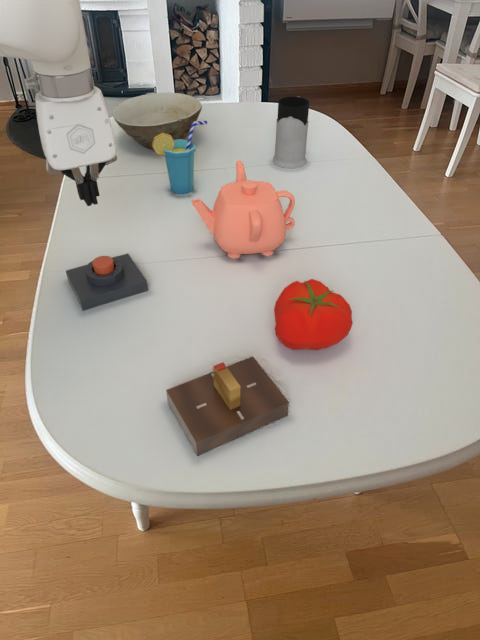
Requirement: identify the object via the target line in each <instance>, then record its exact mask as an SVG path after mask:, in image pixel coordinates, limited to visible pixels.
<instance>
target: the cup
mask: <svg viewBox="0 0 480 640" xmlns="http://www.w3.org/2000/svg"><path fill="white" fill-rule="evenodd" d="M202 125H208V121H207V120H197V121H194V122H193V123H192V125H191V128H190V132H189V134H188V136H187V139H177V140H173V138H172V136H171V135H169V134H165V133H161V134H159V135H158V136H156V137H154V140H153V143H152V147H153V149H152V150H153V151H154V153H155V155H157V156H162V157H164V158H165V164H166V169H167V175H168V180H169V185H170V186H169V187H170V190H171V192H172V193H173V194H177V195H186V194H190V193H191V192H193V191H194V178H195V153H196V151H197V147H196V145H195V143H194V142H193V141H192V139H193V135H194V131H195V127H196V126H202Z"/></svg>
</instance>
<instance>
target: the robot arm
mask: <svg viewBox="0 0 480 640" xmlns="http://www.w3.org/2000/svg"><path fill="white" fill-rule="evenodd" d="M0 57H4V58H9V59H19V60H27V61H31V65H32V68H33V69H32V73H33V74H32V75H31V76H29V77H27V78H24V83H25V86H26V89H27V90H32V89H33V90H35V91H37V93H36V94H35V95H34V96H35V97H34V98H35V100H34V101H35V115H36V121H37V127H38V133H39V137H40V143H41V148H42V151H43V155H44V157H45V169H46V171H47V173H48V175H51V176H62V175H64V176H66V177H67V178H69V179H71V180H72V181H74V182H75V186H76V190H77V195H78V198H79V200H80V201H84V203H85V204H86V206H87V207H91V206H92V205H98V204H99V203H98V198H97V197H100V191H99V185H98V180H99V177H100V174H101V172H102V171H103V170H104V168H105V167H106V166H109V165H111V164H113V163H115V162H116V161H117V160H118V156H117V145H116V140H115V135H114V134H115V133H114V130H113V125H112V122H111V117H110V114H109V110H108V107H107V104H106V101H105V98H104V94H103V92H102V90H101V88H99V87H98V86H95V81H94V76H93V72H92V71H93V70H92V66H91V59H90V53H89V48H88V41H87V35H86V30H85V23H84V18H83V12H82V6H81V2H80V0H0ZM83 167H85V174H84V175H83V174H82V172H81V169H80V168H83Z"/></svg>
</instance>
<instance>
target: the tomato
mask: <svg viewBox="0 0 480 640" xmlns="http://www.w3.org/2000/svg"><path fill="white" fill-rule="evenodd" d="M273 313H274V320H275V321H274V322H275V327H274V333H275V337H276V338H277V340H278V341H279V342H280V343H281V344H282V345H283V346H284V347H286V348H288V349H291V350H293V351H298V350H299V351H300V350H310V351H311V350H312V351H319V350H323V349H328V348H331V347H333V346H335V345H337V344H338V343H340V342H341V341H343V340H344V339H345V338H346V337H347V336H348V335H349V333H350V331H351V329H352V327H353V317H352V316H353V311H352V308H351V306H350V303H348V301H347V300H346V298H345V297H343V295H341V294H339V293H336V292H335V291H334V290H331V289H330V288H329V287H328V286H326V285H325V284H324V283H323V282H321V281H320V280H317V279H313V278H311V279H308V280H304V281H303V282H301V281H298V280H296V281H293V282H291V283H289V284H288V285H286V286H285V287H284V288H283V290H282V291H281V292H280V294H279V296H278V297H277V299H276V301H275V304H274V308H273Z"/></svg>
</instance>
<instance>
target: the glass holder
mask: <svg viewBox="0 0 480 640" xmlns="http://www.w3.org/2000/svg"><path fill="white" fill-rule="evenodd" d="M277 102H278V103H277V118H276V125H275V126H276V127H275V142H274V143H275V144H274V156H273V159H272V163H273V164H274V165H276V166H277V167H280V168H283V169H284V168H285V169H298V168H302V167H304V166H305V165H306V164H307V157H306V152H307V142H308V141H307V139H308V130H309V113H310V112H309V109H310V101H309V99H307V98H304V97H301V96H299V95H298V96H284V97H281V98H280V99H278V101H277Z"/></svg>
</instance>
